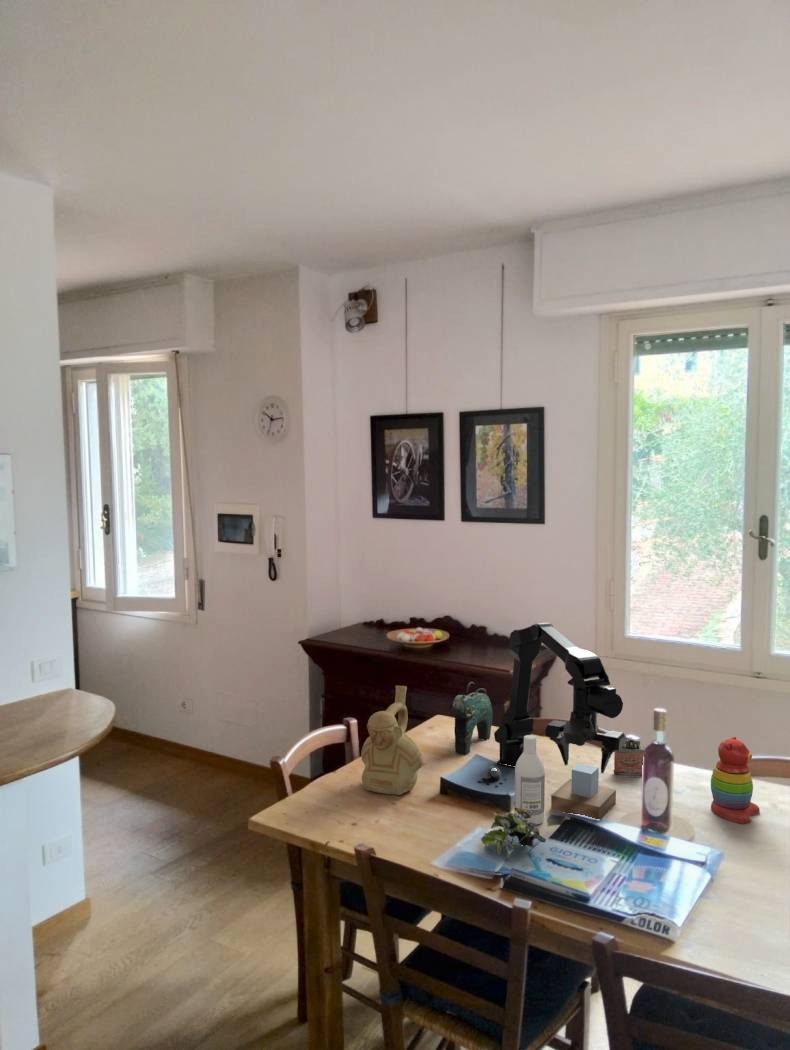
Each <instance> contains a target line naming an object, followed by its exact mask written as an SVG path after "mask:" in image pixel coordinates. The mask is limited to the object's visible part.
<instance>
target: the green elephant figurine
mask: <svg viewBox="0 0 790 1050" xmlns="http://www.w3.org/2000/svg"><path fill="white" fill-rule="evenodd" d="M471 684H472V686H474V685H475V682H473V681H470V682H468V684H467V687H466V695H465V694H457V695H456V696H455V698H454V699H453V701H452V710H451V711H452V714H453V715H454V749H455V750H454V751H455V752H454V753H455V754H459V755H463V756H466V755H468V754H470V751H471V747H472V745H471V744H472V737H473V734H474V729H475V727H476V730H477V739H478V738H479V740H482V739H484V741H487V739H488V740H489V739H490V738H491V734H492V732H491V731H492V725H493V707H492V703H491V699H490V697H489V696H488V695H487V689H486V688H482V687H481V688H478V689H477V690H476V691H474V692H472V693H469V687H470V685H471ZM479 691H483V692H484V693H482V692H479Z"/></svg>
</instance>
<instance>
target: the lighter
mask: <svg viewBox="0 0 790 1050" xmlns="http://www.w3.org/2000/svg"><path fill="white" fill-rule="evenodd" d="M640 745H641V740H640V739H636V738H635V739H633V737H628V738H626V744H625V745H624V746H623V747H622V748H621V749H620V750H616V751H615V752H613V754H614V755H613V756H614V758H613V760H614V761H613V763H614V764H613V773H614V774H613V775H614V776H616V777H623V776H627V777H626V778H641V776H642V765H643V753H644V754H645V751H644V750H645V749H646V748H645V747H644V746H640ZM637 776H638V777H637Z"/></svg>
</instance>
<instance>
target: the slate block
mask: <svg viewBox="0 0 790 1050" xmlns="http://www.w3.org/2000/svg"><path fill="white" fill-rule="evenodd" d="M599 769H600V768H599V767H598V766H594V765H590V764H589V765H588V764H585V763H580V762H579V763H578V764H576V765H575V766H574V767H573V768H572V769H571V779H572V782H571V793H572V794H576V795H580V796H584V797H588V798H592V797H593V796H594V795H595V794H596V793H597V792H598V786H599V778H600V777H599V776H600V775H599Z"/></svg>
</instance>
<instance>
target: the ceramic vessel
mask: <svg viewBox="0 0 790 1050" xmlns="http://www.w3.org/2000/svg"><path fill="white" fill-rule="evenodd" d="M407 689H408V687H407V686H405V685H395V697H394V703H392V704H390V705H389V706H388V707H387V708H386V709H385V710H381V711H380V710H379V711H377V712H374V713H373V714H372V715H370V717H369V719H368V721H367V724H366V728H367V731H368V734H369V736H368V737H367V738H366V740H365V741H364V743H363V745H362V748H361V752H360V753H361V754H360V755H361V756H360V757H361V761H362V763H363V764H364V769H363V770H362V774H361V775H362V776H361V782H362V783H361V784H362V785H363V787H364V788H365V789H366V790H367V791H369V792H370V791H371V792H374V793H379V794H387V795H396V796H400V795H402V794H404V793H407V792H408V791H410V790H412V789H413V788H414V787H415V786H416V783H417V781H418V775H419V772H418V771H419V770H420V769H421V768H422V767H423V766H424V761H423V757H422V756H423V755H422V753H421V751H420V748H419V746H418V745H417V743H416V742H415V741H414V740H413V739H412V738H411V737H410V736H409V735H407V734H406V733H405V732H406V730H407V726H408V718H409V717H408V715H409V714H408V708H407V706H406V697H407V696H406V695H407V694H406V693H407ZM396 714H398V717H397V718H398V719H397V718H396V717H395V716H396Z"/></svg>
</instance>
